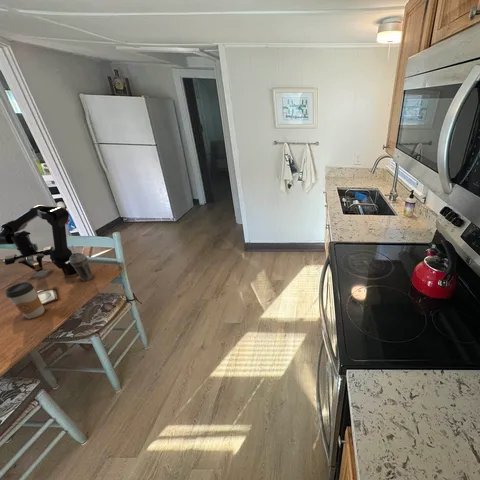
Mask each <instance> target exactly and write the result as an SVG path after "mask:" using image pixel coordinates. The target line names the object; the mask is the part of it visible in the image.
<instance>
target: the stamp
mask: <svg viewBox="0 0 480 480" xmlns="http://www.w3.org/2000/svg"><path fill="white" fill-rule="evenodd" d="M32 264H33V267H34V268H35V270H34V271H35V273H36V272H39V271H44V268H43V267H42V268H41V267H40V266H39V264H38V262H35V263H32Z"/></svg>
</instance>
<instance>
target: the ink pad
mask: <svg viewBox="0 0 480 480" xmlns="http://www.w3.org/2000/svg"><path fill="white" fill-rule="evenodd" d="M50 271H51V269H45V270H44V269H43V270H42V271H39V272H35V273H34V274H33V275H32V276H31V278H37V277H43V276H46V275H47V274H48V273H49V272H50Z"/></svg>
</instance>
